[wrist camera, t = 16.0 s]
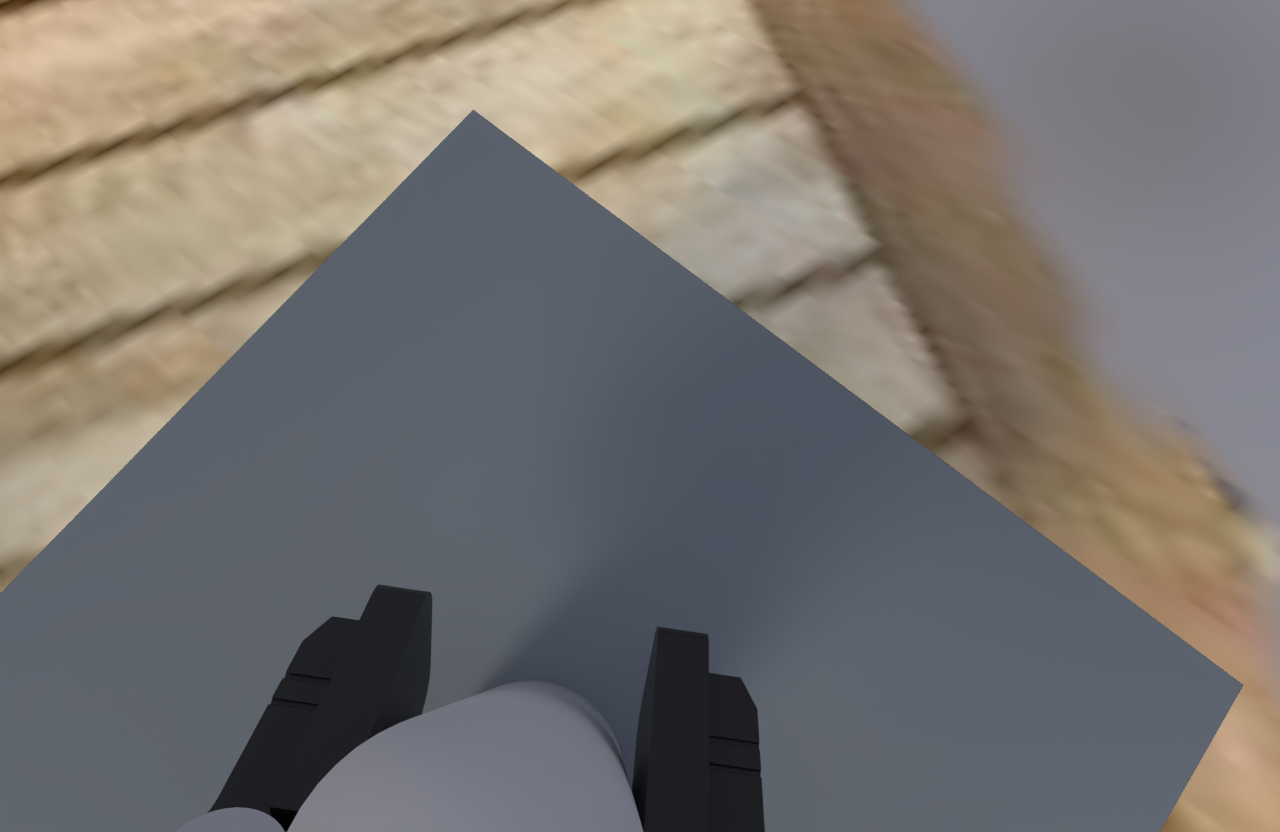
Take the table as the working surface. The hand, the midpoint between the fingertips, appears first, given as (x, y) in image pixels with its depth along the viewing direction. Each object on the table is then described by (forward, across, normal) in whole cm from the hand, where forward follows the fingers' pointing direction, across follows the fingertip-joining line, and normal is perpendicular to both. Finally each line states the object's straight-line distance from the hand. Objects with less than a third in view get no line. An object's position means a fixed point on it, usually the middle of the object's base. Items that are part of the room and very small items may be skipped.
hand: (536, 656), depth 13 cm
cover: (+13, 0, +16) cm, 20 cm away
